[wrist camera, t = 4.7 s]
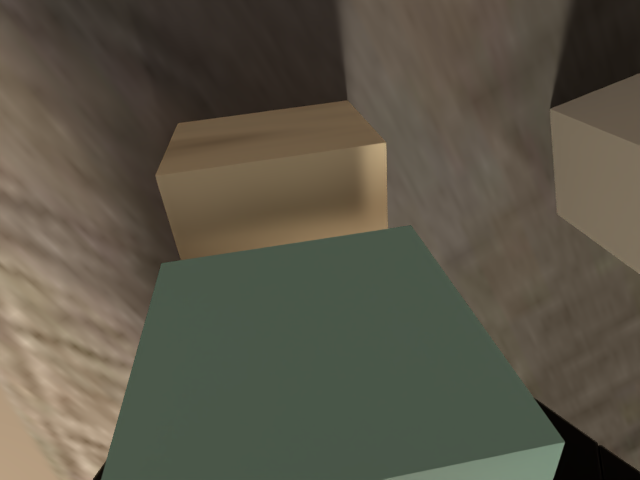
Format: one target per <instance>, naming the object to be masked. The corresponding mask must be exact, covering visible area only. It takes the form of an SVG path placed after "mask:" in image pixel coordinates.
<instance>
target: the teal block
mask: <svg viewBox="0 0 640 480" xmlns="http://www.w3.org/2000/svg"><path fill="white" fill-rule="evenodd" d="M564 444H565V441H564V440H563V438H562V437H561V436H560V434H559V433H558V431H557V430H556V429H555V427H554V426H553V424H552V423H551V422H550V420H549V419H548V417H547V416H546V414H545V413H544V412H543V410H542V409H541V407H540V406H539V405H538V403H537V402H536V400H535V399H534V398H533V396H532V395H531V393H530V392H529V391H528V389H527V388H526V386H525V385H524V384H523V382H522V381H521V379H520V378H519V377H518V375H517V374H516V372H515V371H514V369H513V368H512V367H511V365H510V364H509V362H508V361H507V360H506V358H505V357H504V355H503V354H502V353H501V351H500V350H499V348H498V347H497V346H496V344H495V343H494V341H493V340H492V339H491V337H490V336H489V334H488V333H487V332H486V330H485V329H484V327H483V326H482V325H481V323H480V322H479V320H478V319H477V317H476V316H475V315H474V313H473V312H472V310H471V309H470V308H469V306H468V305H467V303H466V302H465V301H464V299H463V298H462V296H461V295H460V294H459V292H458V291H457V289H456V288H455V287H454V285H453V284H452V282H451V281H450V280H449V278H448V277H447V275H446V274H445V272H444V271H443V270H442V268H441V267H440V265H439V264H438V263H437V261H436V260H435V258H434V257H433V256H432V254H431V253H430V251H429V250H428V249H427V247H426V246H425V244H424V243H423V242H422V240H421V239H420V237H419V236H418V235H417V233H416V232H415V230H414V229H413V227H412V226H411V225H409V226H403V227H396V228H390V229H383V230H377V231H370V232H363V233H357V234H350V235H344V236H337V237H331V238H324V239H317V240H311V241H304V242H298V243H291V244H285V245H278V246H271V247H265V248H258V249H252V250H245V251H239V252H232V253H225V254H219V255H212V256H206V257H199V258H192V259H186V260H179V261H173V262H166V263H161V267H160V270H159V274H158V277H157V281H156V285H155V288H154V292H153V295H152V299H151V302H150V306H149V310H148V313H147V317H146V320H145V324H144V328H143V331H142V335H141V338H140V342H139V345H138V349H137V353H136V356H135V360H134V363H133V367H132V371H131V374H130V378H129V381H128V385H127V389H126V392H125V396H124V399H123V403H122V406H121V410H120V414H119V417H118V421H117V424H116V428H115V432H114V435H113V439H112V442H111V446H110V449H109V453H108V457H107V460H106V464H105V467H104V471H103V475H102V478H101V480H553V478H554V475H555V472H556V469H557V466H558V463H559V459H560V456H561V453H562V450H563V447H564Z"/></svg>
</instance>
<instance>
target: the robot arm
mask: <svg viewBox="0 0 640 480" xmlns="http://www.w3.org/2000/svg"><path fill="white" fill-rule="evenodd" d="M533 398H534V397H533ZM534 399H535V398H534ZM535 400H536V402H537V403H538V405H539V406H540V407H541V409H542V410H543V412H544V413H545V414H546V416H547V417H548V419H549V420H550V422H551V423H552V424H553V426H554V427H555V429H556V430H557V431H558V433H559V434H560V436H561V437H562V438H563V440H564V441H565V444H564V447H563V450H562V453H561V456H560V459H559V463H558V466H557V469H556V472H555V475H554V478H553V480H640V471H638V470H637V469H635V468H634V467H632V466H631V465H629V464H628V463H626V462H625V461H623V460H622V459H620V458H619V457H618V456H616V455H615V454H613V453H612V452H610V451H609V450H608V449H606V448H605V447H603V446H602V445H599V446H598V444H597V442H596V441H595V440H593V439H592V438H590V437H589V436H588V435H586V434H585V433H583V432H582V431H580V430H579V429H578V428H576V427H575V426H573V425H572V424H571V423H569V422H568V421H566V420H565V419H563V418H562V417H561V416H559V415H558V414H556V413H555V412H554V411H552V410H551V409H549V408H548V407H546V406H545V405H544V404H542V403H541V402H539V401H538V400H537V399H535ZM105 464H106V462H105V463H104V465H103V466H102V467H101V469H100V470H99V471H98V473H97V474H96V476H95V477H94V478H93V480H101V478H102V475H103V471H104V467H105Z"/></svg>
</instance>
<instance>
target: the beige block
mask: <svg viewBox="0 0 640 480" xmlns="http://www.w3.org/2000/svg"><path fill="white" fill-rule="evenodd" d="M550 119H551V133H552V148H553V162H554V176H555V191H556V205H557V214H558V215H559V216H561V217H562V218H563V219H565V220H566V221H567V222H569V223H570V224H572V225H573V226H574V227H576V228H577V229H578V230H580V231H581V232H583V233H584V234H585V235H587V236H588V237H589V238H591V239H592V240H594V241H595V242H596V243H598V244H599V245H600V246H602V247H603V248H604V249H606V250H607V251H609V252H610V253H611V254H613V255H614V256H615V257H617V258H618V259H620V260H621V261H622V262H624V263H625V264H626V265H628V266H629V267H631V268H632V269H633V270H635V271H636V272H637V273H639V274H640V73H639V74H636V75H634V76H631V77H629V78H626V79H624V80H621V81H619V82H616V83H614V84H611V85H609V86H606V87H604V88H601V89H599V90H596V91H594V92H591V93H589V94H586V95H584V96H581V97H579V98H576V99H574V100H571V101H569V102H566V103H564V104H561V105H558V106H556V107H553V108H551V109H550Z"/></svg>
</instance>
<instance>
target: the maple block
mask: <svg viewBox="0 0 640 480" xmlns="http://www.w3.org/2000/svg"><path fill="white" fill-rule="evenodd" d="M155 178H156V181H157V184H158V187H159V191H160V194H161V197H162V200H163V204H164V207H165V210H166V213H167V217H168V220H169V223H170V226H171V230H172V233H173V236H174V239H175V243H176V246H177V249H178V253H179V256H180V259H181V260H186V259H192V258H199V257H206V256H212V255H219V254H225V253H232V252H239V251H245V250H252V249H258V248H265V247H271V246H278V245H285V244H291V243H298V242H304V241H311V240H317V239H324V238H331V237H337V236H344V235H350V234H357V233H363V232H370V231H377V230H383V229H388V221H387V162H386V142H385V141H384V140H383V139H382V137H381V136H380V135H379V134H378V133H377V132H376V131H375V130H374V129H373V128H372V126H371V125H370V124H369V123H368V122H367V121H366V120H365V119H364V118H363V117H362V116H361V114H360V113H359V112H358V111H357V110H356V109H355V108H354V107H353V106H352V105H351V104H350V102H349V101H348V100H346V101H339V102H331V103H324V104H316V105H309V106H302V107H294V108H287V109H279V110H272V111H265V112H257V113H250V114H242V115H235V116H228V117H220V118H213V119H205V120H198V121H191V122H183V123H178V124H177V126H176V129H175V131H174V133H173V136H172V138H171V140H170V143H169V145H168V147H167V149H166V152H165V154H164V156H163V159H162V161H161V163H160V166H159V168H158V170H157V173H156V175H155Z"/></svg>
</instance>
